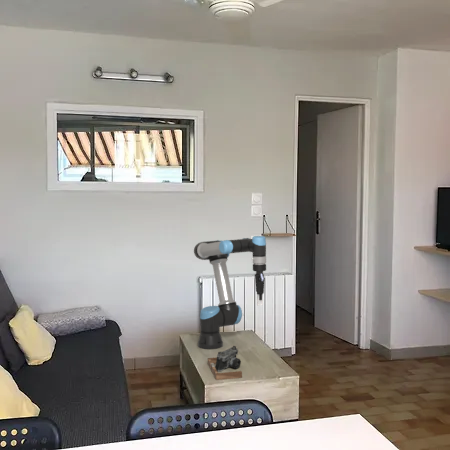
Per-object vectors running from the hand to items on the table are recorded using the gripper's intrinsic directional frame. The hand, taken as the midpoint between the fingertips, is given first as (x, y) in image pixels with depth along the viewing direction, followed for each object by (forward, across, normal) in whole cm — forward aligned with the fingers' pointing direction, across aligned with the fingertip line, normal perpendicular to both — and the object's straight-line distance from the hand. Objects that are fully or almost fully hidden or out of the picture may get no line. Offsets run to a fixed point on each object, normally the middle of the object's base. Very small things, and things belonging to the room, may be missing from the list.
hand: (260, 305), depth 293 cm
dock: (+29, +17, -24) cm, 42 cm away
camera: (+30, +14, -21) cm, 39 cm away
